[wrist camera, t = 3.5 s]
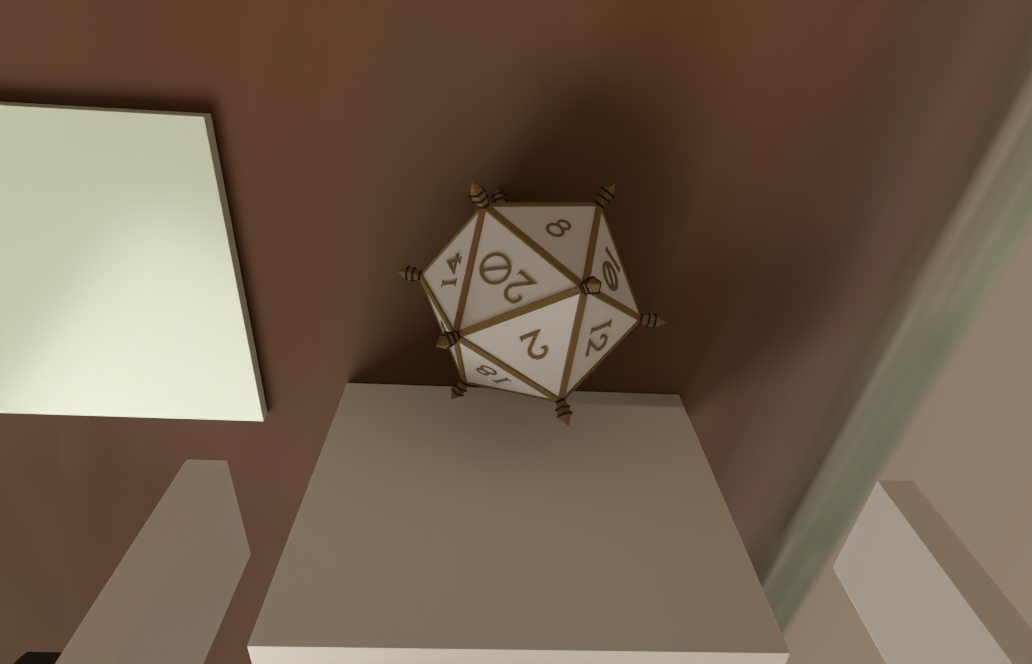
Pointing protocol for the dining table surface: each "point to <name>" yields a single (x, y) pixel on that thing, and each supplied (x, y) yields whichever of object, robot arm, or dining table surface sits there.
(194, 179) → the tile
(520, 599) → the screen
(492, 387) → the game die
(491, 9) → the dining table surface
